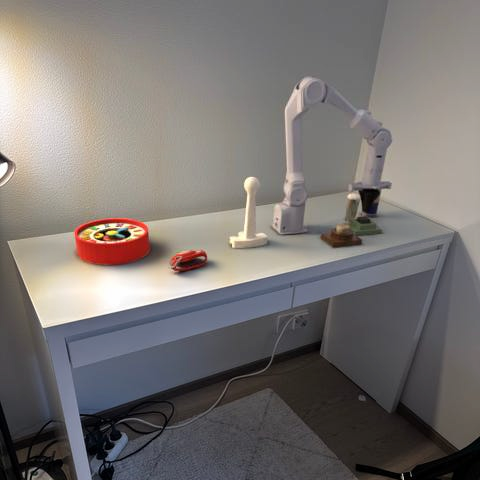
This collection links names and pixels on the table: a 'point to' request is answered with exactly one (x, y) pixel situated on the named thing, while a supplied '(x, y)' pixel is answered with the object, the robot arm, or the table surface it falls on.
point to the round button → (342, 228)
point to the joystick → (250, 219)
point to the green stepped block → (363, 228)
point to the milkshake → (352, 206)
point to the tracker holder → (187, 259)
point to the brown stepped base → (341, 238)
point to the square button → (363, 220)
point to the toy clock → (112, 241)
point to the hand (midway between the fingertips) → (365, 211)
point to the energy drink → (373, 207)
